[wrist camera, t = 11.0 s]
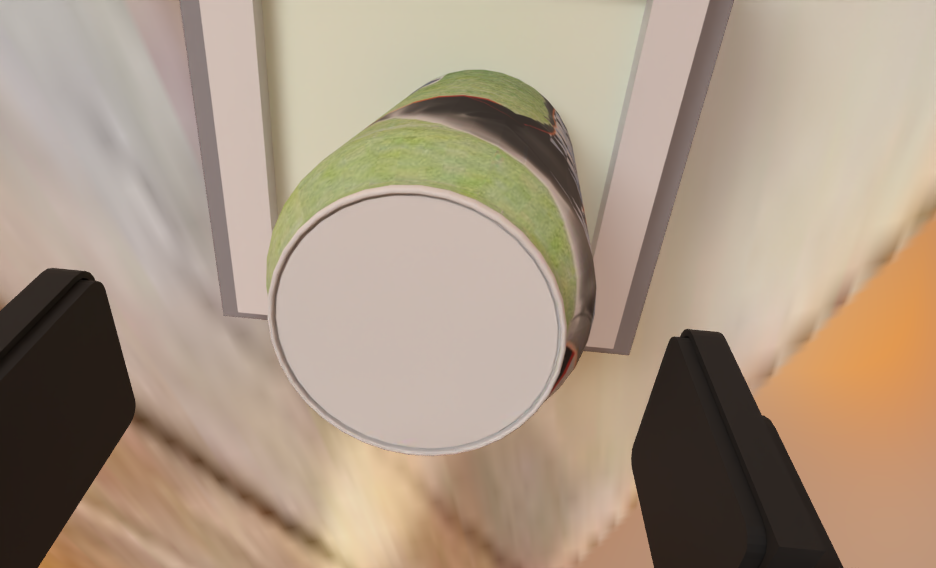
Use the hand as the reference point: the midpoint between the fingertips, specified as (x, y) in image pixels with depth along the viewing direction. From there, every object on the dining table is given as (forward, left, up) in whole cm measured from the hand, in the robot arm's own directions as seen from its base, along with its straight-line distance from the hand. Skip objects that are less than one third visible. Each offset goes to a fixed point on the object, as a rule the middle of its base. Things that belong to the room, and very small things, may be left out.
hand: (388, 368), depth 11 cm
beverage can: (0, +1, -12) cm, 12 cm away
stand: (0, 0, -20) cm, 20 cm away
